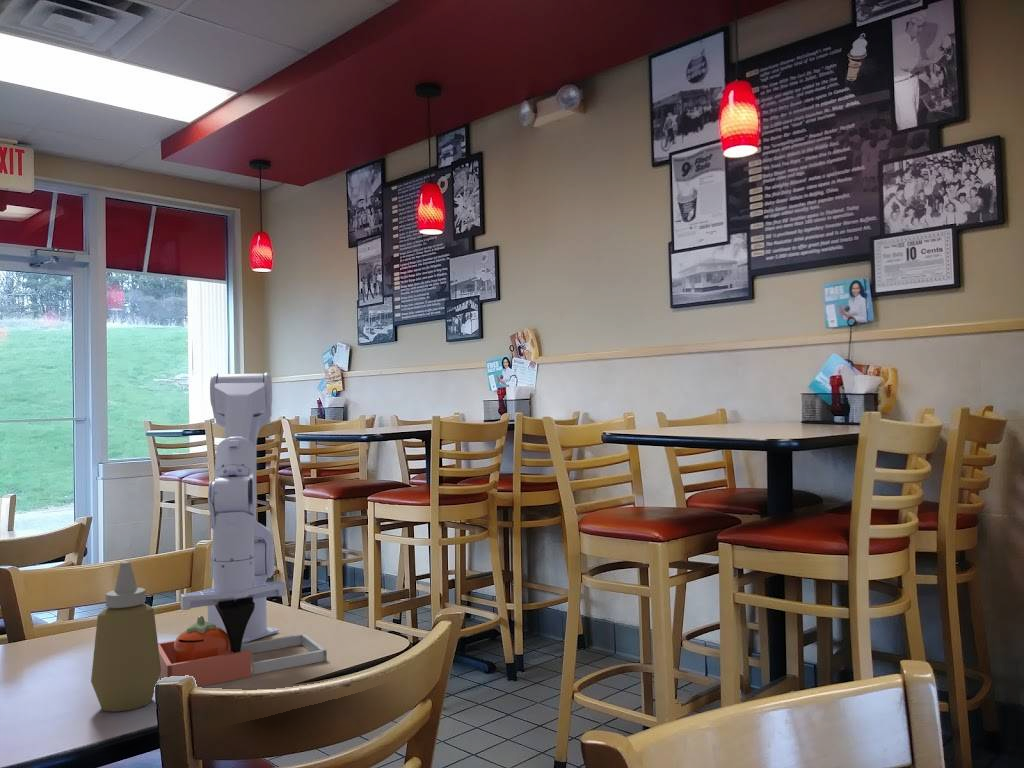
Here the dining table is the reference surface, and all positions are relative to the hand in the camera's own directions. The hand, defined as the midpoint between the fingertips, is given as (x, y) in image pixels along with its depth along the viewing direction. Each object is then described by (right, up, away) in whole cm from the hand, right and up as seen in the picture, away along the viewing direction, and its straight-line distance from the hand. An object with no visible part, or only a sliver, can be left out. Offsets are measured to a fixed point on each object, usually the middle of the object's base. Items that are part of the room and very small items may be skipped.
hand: (235, 651), depth 116 cm
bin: (-3, -2, -2) cm, 4 cm away
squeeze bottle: (-9, -2, -15) cm, 17 cm away
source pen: (+5, -2, +3) cm, 7 cm away
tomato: (-4, -2, -3) cm, 5 cm away
